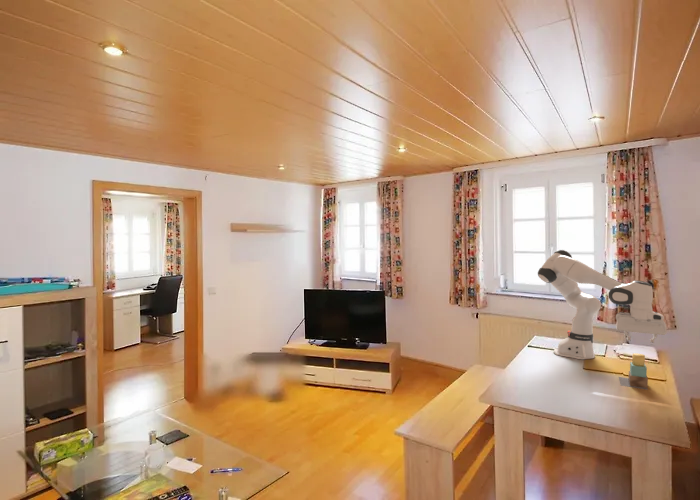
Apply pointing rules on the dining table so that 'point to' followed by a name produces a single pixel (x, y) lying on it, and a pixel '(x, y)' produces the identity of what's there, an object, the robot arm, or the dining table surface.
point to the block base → (638, 381)
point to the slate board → (626, 383)
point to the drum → (638, 359)
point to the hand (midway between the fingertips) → (640, 341)
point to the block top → (638, 370)
